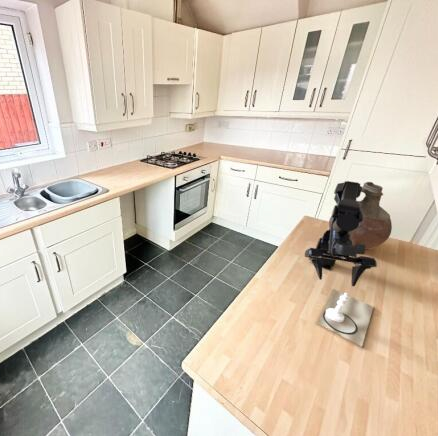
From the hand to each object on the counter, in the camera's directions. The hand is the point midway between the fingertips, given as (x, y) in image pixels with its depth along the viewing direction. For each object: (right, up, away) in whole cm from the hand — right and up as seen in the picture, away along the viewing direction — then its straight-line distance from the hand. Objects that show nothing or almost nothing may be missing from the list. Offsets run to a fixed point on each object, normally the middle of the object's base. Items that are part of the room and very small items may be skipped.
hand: (336, 282), depth 81 cm
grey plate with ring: (+2, -10, -2) cm, 11 cm away
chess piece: (-3, -10, -3) cm, 11 cm away
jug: (+32, +9, +33) cm, 46 cm away
